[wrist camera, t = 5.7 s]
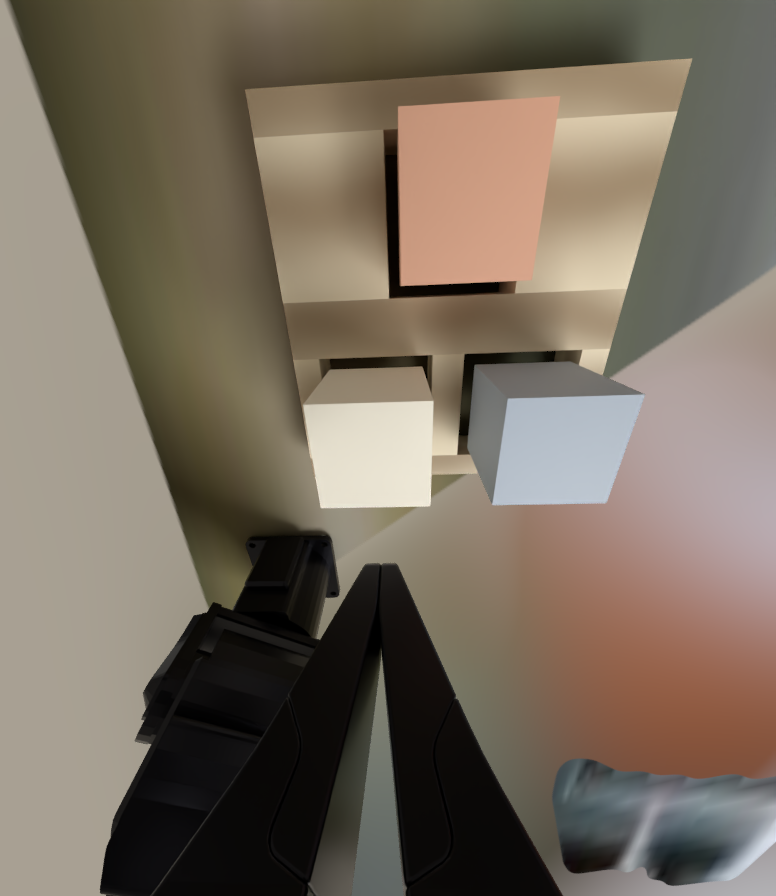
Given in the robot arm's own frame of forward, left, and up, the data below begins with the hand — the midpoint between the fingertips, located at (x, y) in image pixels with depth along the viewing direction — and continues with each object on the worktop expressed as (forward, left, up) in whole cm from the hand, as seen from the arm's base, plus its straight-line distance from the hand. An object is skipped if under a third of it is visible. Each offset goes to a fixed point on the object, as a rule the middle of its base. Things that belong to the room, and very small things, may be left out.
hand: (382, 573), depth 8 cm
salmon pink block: (+9, -3, -12) cm, 15 cm away
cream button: (+1, 0, -9) cm, 9 cm away
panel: (+5, -3, -12) cm, 13 cm away
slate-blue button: (+1, -6, -9) cm, 11 cm away
